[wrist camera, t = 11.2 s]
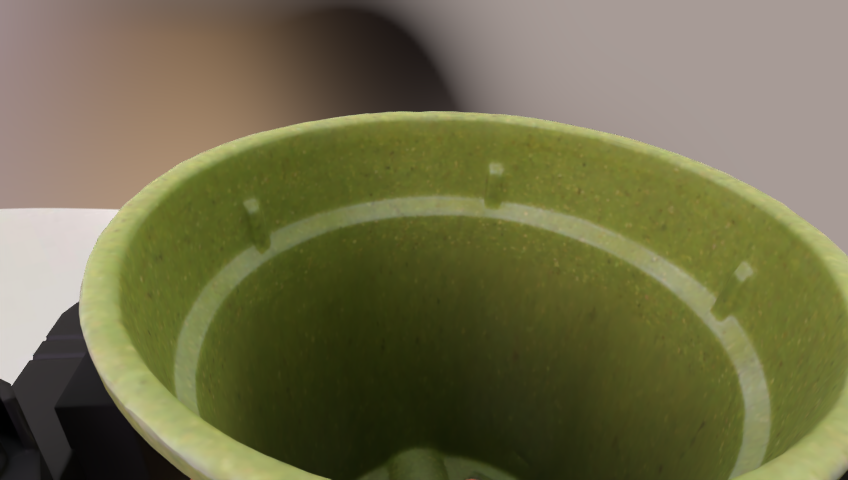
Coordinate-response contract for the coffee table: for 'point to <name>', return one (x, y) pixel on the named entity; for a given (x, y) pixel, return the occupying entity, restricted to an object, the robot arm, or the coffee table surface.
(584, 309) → the plant pot
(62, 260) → the coffee table surface
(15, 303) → the coffee table surface
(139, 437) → the robot arm
